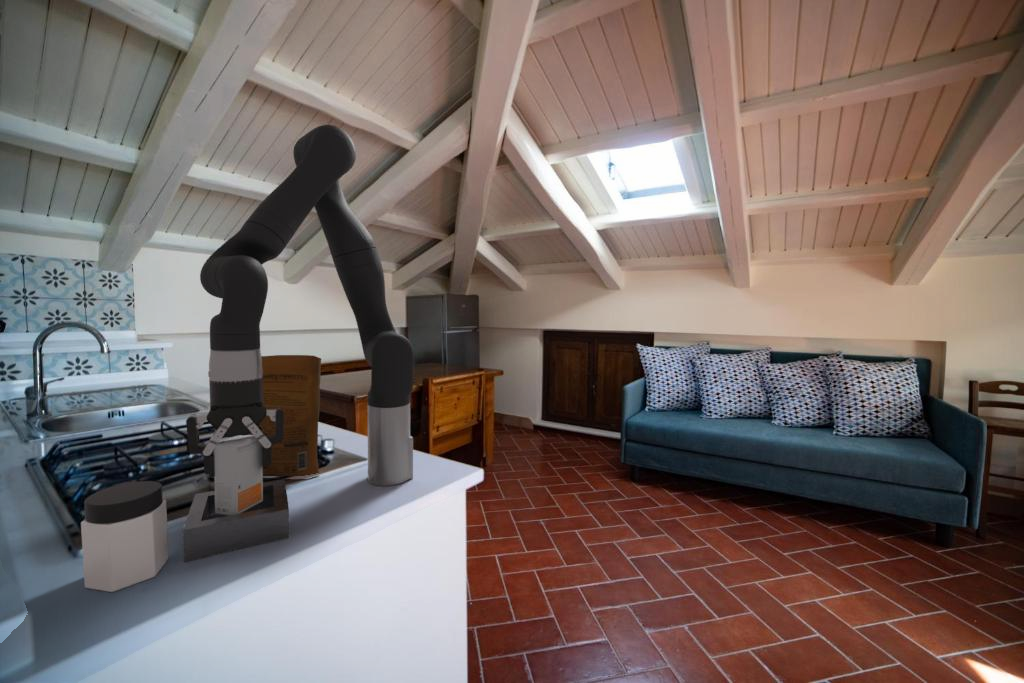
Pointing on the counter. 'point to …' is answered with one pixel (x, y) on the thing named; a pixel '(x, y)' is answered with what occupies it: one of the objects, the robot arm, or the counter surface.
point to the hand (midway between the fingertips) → (239, 471)
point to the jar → (124, 535)
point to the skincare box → (238, 474)
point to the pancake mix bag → (292, 412)
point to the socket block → (235, 524)
